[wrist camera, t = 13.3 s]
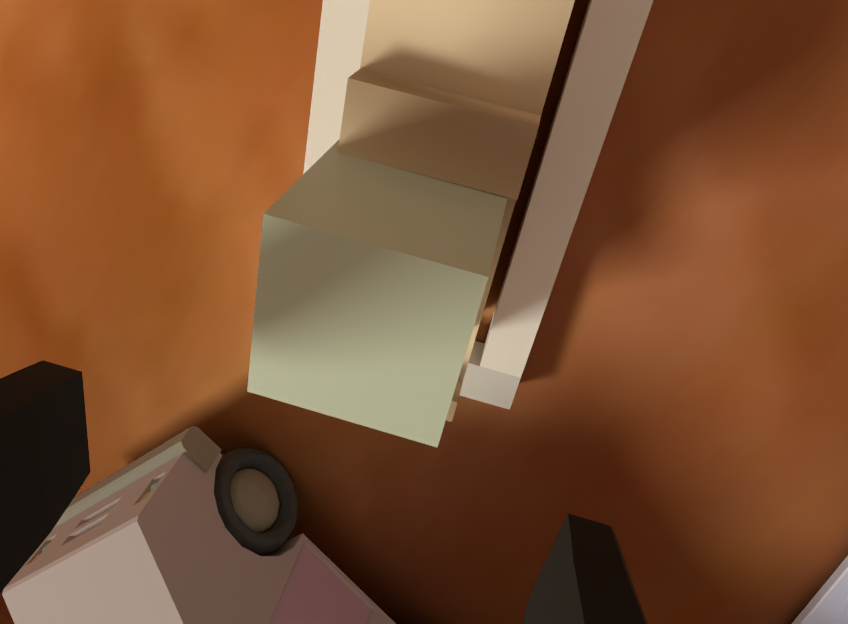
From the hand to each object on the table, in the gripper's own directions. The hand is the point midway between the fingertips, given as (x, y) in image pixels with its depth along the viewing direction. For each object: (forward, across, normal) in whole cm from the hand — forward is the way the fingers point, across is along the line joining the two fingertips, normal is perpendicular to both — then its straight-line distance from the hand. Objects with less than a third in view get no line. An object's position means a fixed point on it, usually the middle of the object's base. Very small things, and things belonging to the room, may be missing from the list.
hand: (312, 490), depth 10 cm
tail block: (+6, 0, -1) cm, 6 cm away
